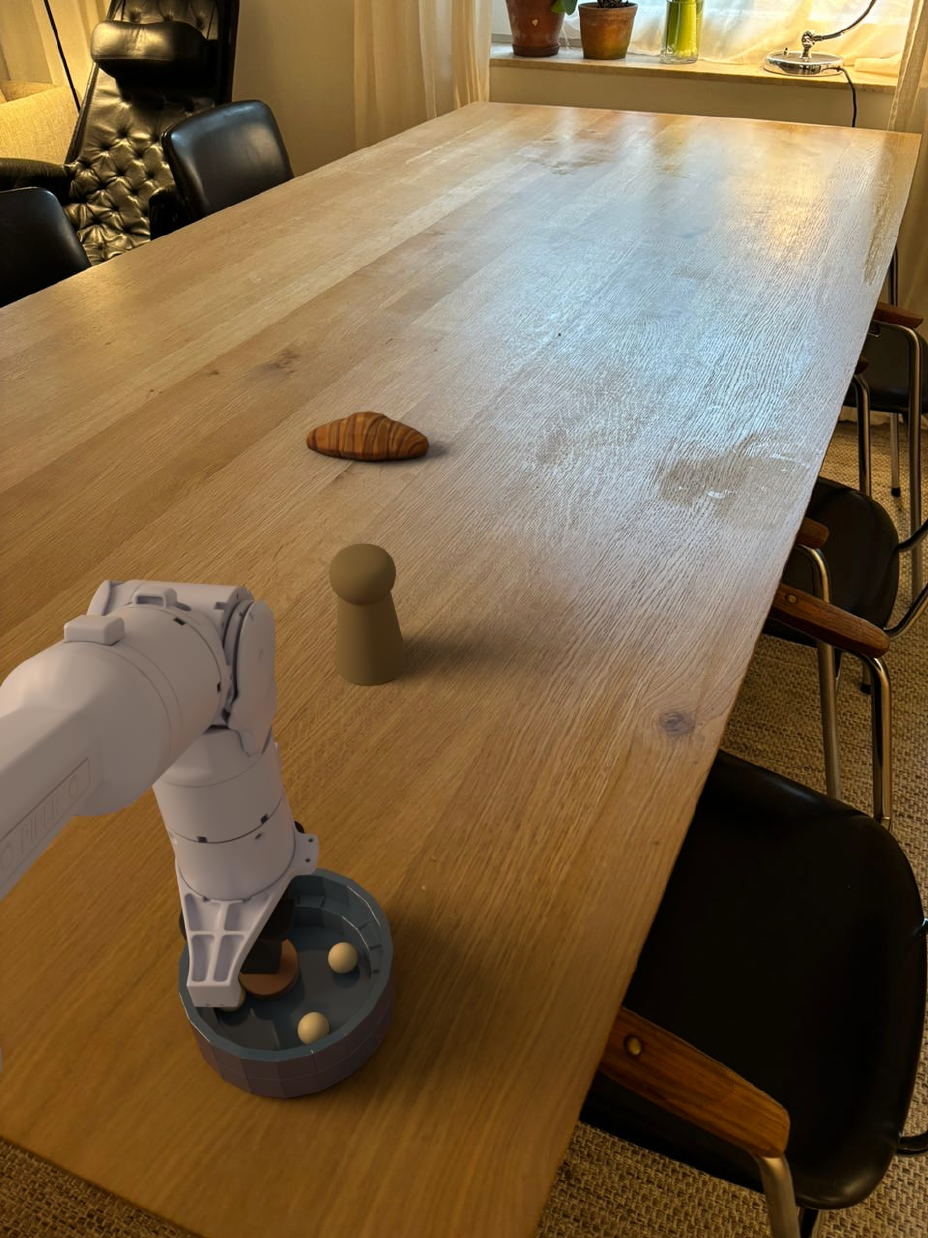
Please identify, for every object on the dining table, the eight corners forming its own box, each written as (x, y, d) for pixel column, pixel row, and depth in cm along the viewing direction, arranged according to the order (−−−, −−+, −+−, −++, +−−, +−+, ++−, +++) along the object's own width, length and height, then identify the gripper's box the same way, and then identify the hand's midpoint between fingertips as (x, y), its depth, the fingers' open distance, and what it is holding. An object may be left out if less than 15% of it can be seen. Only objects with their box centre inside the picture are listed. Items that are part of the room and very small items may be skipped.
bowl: (235, 1144, 54) (219, 1104, 51) (168, 966, 62) (151, 921, 59) (432, 1035, 59) (429, 992, 55) (346, 882, 67) (339, 837, 63)
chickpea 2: (307, 1057, 57) (303, 1042, 56) (295, 1031, 58) (291, 1016, 57) (335, 1042, 58) (332, 1027, 56) (323, 1016, 59) (320, 1001, 58)
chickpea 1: (234, 1019, 59) (211, 1016, 58) (228, 992, 60) (205, 988, 59) (254, 1002, 59) (231, 998, 58) (247, 975, 60) (225, 971, 59)
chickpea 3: (317, 964, 60) (339, 977, 59) (330, 936, 61) (352, 949, 60) (334, 966, 62) (355, 979, 61) (346, 939, 62) (367, 951, 61)
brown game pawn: (421, 652, 84) (415, 547, 77) (379, 695, 80) (369, 589, 73) (363, 627, 86) (353, 523, 79) (320, 668, 82) (305, 563, 75)
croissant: (300, 467, 106) (294, 425, 103) (313, 434, 111) (308, 394, 108) (425, 473, 105) (423, 431, 102) (433, 440, 110) (431, 399, 107)
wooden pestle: (255, 1013, 59) (235, 973, 52) (230, 960, 61) (208, 914, 53) (309, 981, 60) (298, 938, 53) (284, 930, 62) (269, 881, 55)
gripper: (285, 931, 41) (320, 1079, 50) (324, 685, 52) (347, 842, 61) (116, 932, 41) (180, 1079, 50) (190, 685, 52) (232, 842, 61)
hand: (263, 949), depth 56 cm, fingers closed on wooden pestle, 2 cm apart
